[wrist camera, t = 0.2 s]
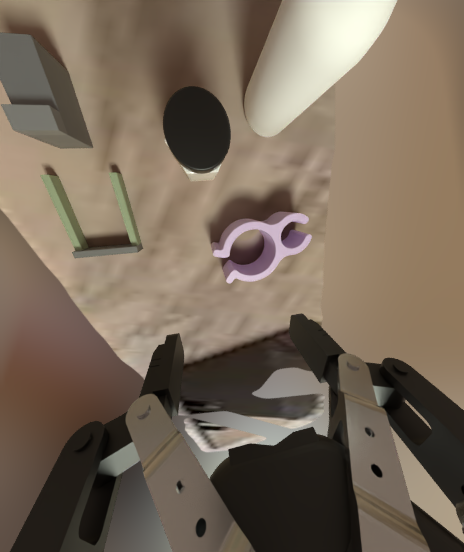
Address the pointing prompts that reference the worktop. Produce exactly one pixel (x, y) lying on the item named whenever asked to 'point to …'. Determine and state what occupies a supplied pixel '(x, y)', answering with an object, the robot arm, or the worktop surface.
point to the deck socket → (74, 229)
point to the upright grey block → (40, 94)
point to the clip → (272, 245)
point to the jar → (197, 132)
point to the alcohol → (309, 56)
